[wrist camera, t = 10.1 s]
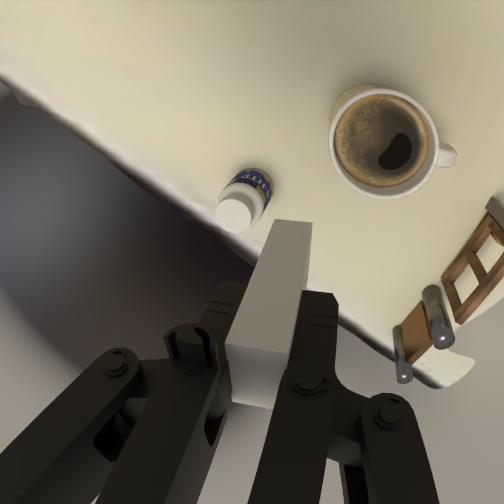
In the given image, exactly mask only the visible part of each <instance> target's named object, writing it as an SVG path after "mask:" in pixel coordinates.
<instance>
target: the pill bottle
mask: <svg viewBox="0 0 504 504" xmlns="http://www.w3.org/2000/svg"><path fill="white" fill-rule="evenodd" d="M272 193H273V186H272V182H271V180H270V179H269V177H268V176H267V175H266V174H265V173H264V172H262V171H260V170H257V169H245V170H243V171H241V172H239V173H238V174H237V175H236V176H235V177H234V178H233V179H232V180H231V181H230V183H229V184H228V185H227V186H226V187H225V188H224V189H223V190H222V192H221V194H220V196H219V199H218V205H217V207H216V210H215V217H216V220H217V222H218V224H219V225H220V226H221V227H222V228H223V229H224V230H226V231H228V232H232V233H239V232H243V231H245V230H246V229H247V228H248V227H249V226H251V225H253V224H255V223H256V222H257V221H258V220H259V219H260V218H261V216H262V214H263V212H264V210H265V208H266V206H267V204H268V203H269V201H270V199H271V197H272Z"/></svg>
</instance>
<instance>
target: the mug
mask: <svg viewBox="0 0 504 504" xmlns="http://www.w3.org/2000/svg"><path fill="white" fill-rule="evenodd" d="M328 147H329V154H330V158H331V161H332V163H333V166H334V168H335V170H336V171H337V173H338V175H339V176H340V177H341V178H342V180H343V181H344V182H345V183H346V184H347V185H348V186H349V187H351V188H352V189H353V190H355V191H357V192H358V193H360V194H362V195H365V196H367V197H371V198H374V199H381V200H391V199H397V198H401V197H404V196H407V195H409V194H411V193H413V192H415V191H416V190H417V189H419V188H420V187H421V186H422V185H423V184H424V183H425V182H426V181H427V180H428V179H429V177H430V176H431V174H432V172H433V170H434V168H435V166H438V167H443V168H450V167H452V166H454V164H455V160H456V156H457V152H456V150H455V149H454V148H453V147H452V146H451V145H449V144H447V143H445V142H443V141H441V140H439V139H438V133H437V130H436V127H435V124H434V122H433V120H432V118H431V116H430V115H429V114H428V112H427V111H426V109H425V108H424V107H423V106H422V105H421V104H420V103H418V102H417V101H416V100H415V99H413V98H412V97H410V96H408V95H406V94H404V93H401V92H399V91H396V90H392V89H389V88H386V87H382V86H378V85H372V84H364V85H358V86H355V87H353V88H351V89H349V90H347V91H345V92H344V93H343V94H342V95H341V96H340V97H339V98H338V99H337V100H336V102H335V104H334V105H333V108H332V110H331V114H330V123H329V138H328Z"/></svg>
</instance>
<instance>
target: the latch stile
mask: <svg viewBox="0 0 504 504" xmlns="http://www.w3.org/2000/svg"><path fill="white" fill-rule="evenodd" d="M485 208H486V209H487V210H488V211H489V213H490V214H491V215H492V216H493V217H494V218H495V220H496V221H497V222H498V223H499V224H500V226H501V227H502V228H503V229H504V206H503V205H502V204H501V203H500V202H498V201H497V200H496V199H494V198H493V197H491V199H490V200H489V202H488V204H487V205H486V207H485ZM490 234H491V235H492V237H493V238H494V240H495V241H496V242H497V243H498V244H500V245H501V246H502V244H501V242H500V241H499V240H498V238H497V237H496V235H495V234H494V233H493V231H492V232H491V233H490Z"/></svg>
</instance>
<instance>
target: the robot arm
mask: <svg viewBox="0 0 504 504" xmlns="http://www.w3.org/2000/svg"><path fill="white" fill-rule="evenodd" d="M311 235H312V223H310V222H300V221H290V220H279V219H275V220H274V222H273V225H272V227H271V230H270V232H269V235H268V237H267V240H266V242H265V245H264V247H263V250H262V252H261V255H260V257H259V260H258V262H257V265H256V267H255V270H254V272H253V275H252V277H251V279H250V282H249V284H244V283H237V282H230V281H226V282H225V283H224V284H222V285H221V286H220V287H219V288H217V289H216V291H215V293H214V295H213V296H212V298H211V300H210V303H209V304H208V306H207V308H206V311H205V312H204V314H203V316H202V318H201V319H200V321H199V323H185V324H180V325H177V326H175V327H173V328H172V329H170V330H169V331H168V332H167V333H166V334H165V335H164V336H163V338H164V341H165V344H166V348H167V351H168V353H169V358H166V359H159V360H158V359H156V360H139V359H138V357H137V355H136V354H135V353H134V352H133V351H132V350H129V349H126V348H114V349H111V350H107V351H106V352H105V353H104V354H102V355H100V356H99V357H98V358H97V359H96V360H95V361H94V362H93V363H92V364H91V365H90V366H89V367H88V368H87V369H86V370H85V371H83V372H82V373H81V374H80V375H79V376H78V377H77V378H76V379H75V380H74V381H73V382H72V383H71V384H70V385H69V386H68V387H67V388H66V389H65V390H64V391H63V392H62V393H61V394H60V395H59V396H58V397H57V398H56V399H55V400H54V401H53V402H51V403H50V404H49V406H47V407H46V408H45V409H44V410H43V411H42V412H41V413H40V414H39V415H38V416H37V417H36V418H35V419H34V420H33V421H32V422H31V423H30V424H29V425H28V426H27V427H26V428H25V429H24V430H23V431H22V432H21V433H20V434H19V435H18V436H17V437H16V438H15V439H14V440H13V441H12V442H11V444H9V446H7V448H6V449H5V450H4V451H3V452H2V453H1V454H0V504H91V502H92V501H93V500H94V499H95V498H96V497H97V496H98V495H99V497H98V499H97V501H96V503H95V504H196V503H197V501H198V498H199V495H200V493H201V490H202V487H203V484H204V482H205V479H206V476H207V474H208V471H209V468H210V465H211V462H212V460H213V457H214V454H215V451H216V448H217V445H218V442H219V439H220V437H221V434H222V431H223V428H224V425H225V422H226V420H227V413H228V410H227V404H228V402H229V399H230V396H231V395H232V401H233V402H237V403H243V404H248V405H252V406H258V407H263V408H269V409H273V412H272V416H271V420H270V424H269V428H268V432H267V436H266V440H265V443H264V447H263V451H262V454H261V458H260V461H259V465H258V469H257V472H256V476H255V479H254V483H253V486H252V490H251V493H250V496H249V500H248V503H247V504H319V501H320V495H321V490H322V484H323V478H324V472H325V466H326V459H327V458H329V459H332V460H334V461H337V462H339V468H340V475H341V482H342V489H343V496H344V504H439V500H438V496H437V491H436V488H435V483H434V479H433V475H432V471H431V468H430V464H429V460H428V457H427V453H426V450H425V446H424V443H423V440H422V436H421V433H420V430H419V426H418V423H417V420H416V417H415V414H414V411H413V409H412V407H411V406H410V404H409V402H408V401H406V400H405V399H404V398H403V397H401V396H399V395H396V394H393V393H380V394H378V395H375V396H372V397H371V398H367V397H365V396H362V395H359V394H357V393H354V392H352V391H350V390H349V389H347V388H346V387H344V386H343V385H342V384H341V383H340V381H339V380H338V378H337V376H336V373H335V356H336V342H337V327H338V307H339V304H338V302H337V301H336V299H335V297H334V295H333V293H325V292H317V291H308V290H306V286H307V280H308V270H309V259H310V247H311ZM99 493H100V494H99Z"/></svg>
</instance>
